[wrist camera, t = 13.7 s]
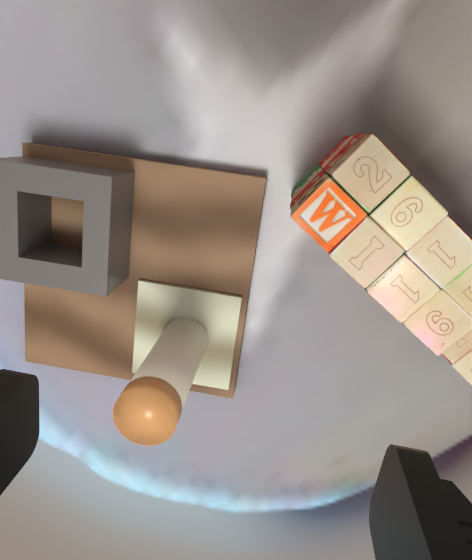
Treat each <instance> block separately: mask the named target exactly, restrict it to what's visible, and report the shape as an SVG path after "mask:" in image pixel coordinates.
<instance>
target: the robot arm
mask: <svg viewBox="0 0 472 560" xmlns="http://www.w3.org/2000/svg"><path fill="white" fill-rule="evenodd" d="M38 436H39V382H38V379H37V377H36V376H35V375H31V374H26V373H21V372H16V371H10V370H5V369H1V370H0V495H1V494H2V493H3V491H4V490H5V489H6V487H7V486H8V485H9V484H10V482H11V481H12V480H13V478H14V477H15V476H16V475H17V474H18V472H19V471H20V470H21V468H22V467H23V466H24V465H25V463H26V462H27V461H28V459H29V458H30V457H31V455H32V453H33V451H34V449H35V446H36V443H37V440H38ZM369 524H370V532H371V537H372V542H373V547H374V552H375V558H376V560H472V504H471V502H470V501H469V500H468V499H467V498H466V497H465V496H464V494H463V493H462V492H461V491H460V490H459V489H458V488H457V487H456V486H455V484H454V483H453V482H452V481H448V480H443V479H440V478H439V476H438V473H437V471H436V469H435V467H434V464H433V461H432V459H431V457H430V455H429V453H428V452H427V451H423V450H418V449H413V448H408V447H403V446H397V445H392V444H391V445H390V446H389V447H388V448H387V450H386V453H385V456H384V459H383V463H382V466H381V469H380V472H379V475H378V479H377V482H376V485H375V488H374V491H373V495H372V498H371V503H370V511H369Z"/></svg>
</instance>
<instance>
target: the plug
mask: <svg viewBox="0 0 472 560" xmlns="http://www.w3.org/2000/svg"><path fill="white" fill-rule="evenodd" d="M207 345H208V335H207V332H206V330H205V328H204V327H203V325H202V324H201V323H199V322H198V321H197V320H195V319H192V318H189V317H180V318H176V319H174V320H172V321H171V322H170V323H169V324H168V325H167V326H166V328H165V329H164V331H163V332H162V334H161V335H160V337H159V338H158V340H157V341H156V343H155V345H154V346H153V348H152V349H151V351H150V352H149V354H148V355H147V357H146V358H145V360H144V361H143V363H142V364H141V366H140V367H139V369H138V370H137V372H136V373H135V375H134V376H133V378H132V380H131V381H130V383H129V384H128V385H127V386H126V387H125V389H124V390H123V392H122V393H121V395H120V396H119V398H118V399H117V401H116V403H115V405H114V408H113V420H114V423H115V425H116V427H117V429H118V430H119V431H120V433H121V434H122V435H123V436H124V437H126V438H127V439H128V440H130V441H132V442H134V443H137V444H140V445H146V446H152V445H158V444H161V443H163V442H165V441H166V440H168V439H169V438H170V437H171V435H172V434H173V432H174V431H175V428H176V425H177V423H178V420H179V418H180V415H181V412H182V408H183V406H184V403H185V401H186V398H187V395H188V393H189V390H190V388H191V385H192V383H193V380H194V378H195V375H196V373H197V370H198V368H199V365H200V363H201V360H202V358H203V355H204V353H205V350H206V347H207Z"/></svg>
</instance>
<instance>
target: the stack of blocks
mask: <svg viewBox="0 0 472 560" xmlns="http://www.w3.org/2000/svg"><path fill="white" fill-rule="evenodd" d="M291 198H292V200H291V204H290V209H291V216H290V217H291V219H292V220H293V221H294V222H295V223H296V224H298V225H299V226H300V227H301V228H302V229H303V230H304V231H305V232H306V233H307V234H308V235H309V236H310V237H311V238H312V239H313V240H315V241H316V242H317V243H318V244H319V245H320V246H321V247H322V248H323V249H324V250H325V251H326V252H328V253H329V255H330V257H331V258H332V259H333V260H334V261H335V262H337V263H338V264H339V265H340V266H341V267H342V268H343V269H344V270H345V271H346V272H348V273H349V274H350V275H351V276H352V277H353V278H354V279H355V280H356V281H357V282H359V283H360V284H361V285H362V286H363V287H364V288H365V289H366V291H367V292H368V294H369V295H370V296H372V297H373V298H374V299H375V300H376V301H377V302H378V303H379V304H380V305H381V306H382V307H384V308H385V309H386V310H387V311H388V312H389V313H390V314H391V315H392V316H393V317H394V318H396V319H397V320H398V321H399V322H401V323H403V325H404V326H405V327H406V328H407V329H408V330H409V331H411V332H412V333H413V334H414V335H415V336H416V337H417V338H418V339H419V340H420V341H421V342H423V343H424V344H425V345H426V346H427V347H428V348H429V349H430V350H431V351H432V352H433V353H434V354H435V355H437V356H439V355H440V354H442V355H443V356H444V357H445V358H446V359H447V360H448V361H449V363H450V364H451V366H452V367H453V368H454V369H455V370H456V371H457V372H458V373H459V374H460V375H461V376H462V377H463V378H464V379H465V380H467V381H468V382H469V383H470V384H471V385H472V239H471V238H470V237H469V236H468V235H467V234H466V233H465V232H464V231H463V230H462V229H461V228H460V227H459V226H458V225H457V224H456V223H455V222H454V221H453V220H452V219H451V218H450V217H449V216H448V212H447V210H446V209H445V208H444V207H443V206H442V205H441V204H440V203H439V202H438V201H437V200H436V199H435V198H434V197H433V196H432V195H431V194H430V193H429V192H428V191H427V190H426V189H425V188H424V187H423V186H422V185H421V184H420V183H419V182H418V181H417V180H416V179H415V178H414V177H413V176H411V175H410V172H409V170H408V169H407V168H406V167H405V166H404V165H403V164H402V163H401V162H400V161H399V160H398V159H397V158H396V157H395V156H394V155H393V154H392V153H391V151H390V150H389V149H388V148H387V147H386V146H385V145H384V144H383V143H382V142H381V141H380V140H379V139H378V138H377V137H376V136H375V135H374V134H367V135H364V134H362V133H360V134H356V135H354V136H346V137H345V138H344V139H343V140H342V141H341V142H340V143H339V144H338V145H337V146H336V147H335V148H334V149H333V150H332V151H331V152H330V153H329V154H328V155H327V156H326V157H325V158H324V159H323V160H322V161H321V162H320V163H319V165H318V166H317V167H316V168H315V169H314V170H313V171H312V172H311V173H310V174H309V175H308V177H307V178H306V179H305V180H304V181H303V182H302V183H301V184H300V185H299V186H298V187H297V188H296V189H295V190H294V191H293V192H292V194H291Z"/></svg>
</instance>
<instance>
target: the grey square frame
mask: <svg viewBox="0 0 472 560" xmlns="http://www.w3.org/2000/svg"><path fill="white" fill-rule="evenodd" d="M134 183H135V172H130V171H124V170H117V169H110V168H103V167H97V166H90V165H83V164H76V163H70V162H63V161H56V160H49V159H43V158H36V157H29V156H27V157H10V158H0V279H4V280H10V281H16V282H22V283H28V284H34V285H40V286H46V287H52V288H58V289H64V290H70V291H76V292H81V293H87V294H93V295H99V296H105V297H107V296H108V295H109V294H110V293H111V292H112V291H114V290H115V289H116V288H117V287H118V286H119V285H121V284H122V283H123V282H124V281H125V280H126V279H128V278H129V263H130V247H131V231H132V215H133V199H134ZM52 196H53V197H60V198H66V199H73V200H79V201H84V207H83V243H82V248H80V247H74V246H68V245H61V244H55V243H51V227H52Z"/></svg>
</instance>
